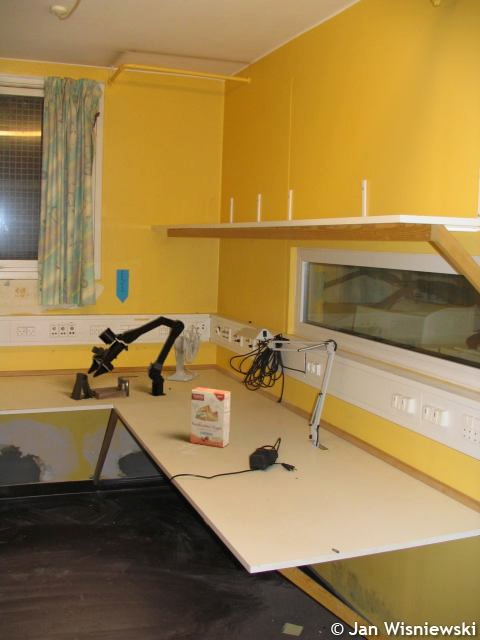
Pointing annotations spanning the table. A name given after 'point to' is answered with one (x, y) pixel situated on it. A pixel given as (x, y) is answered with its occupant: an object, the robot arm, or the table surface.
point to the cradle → (112, 390)
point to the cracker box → (210, 417)
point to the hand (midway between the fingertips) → (90, 375)
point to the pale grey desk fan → (181, 347)
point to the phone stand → (81, 387)
